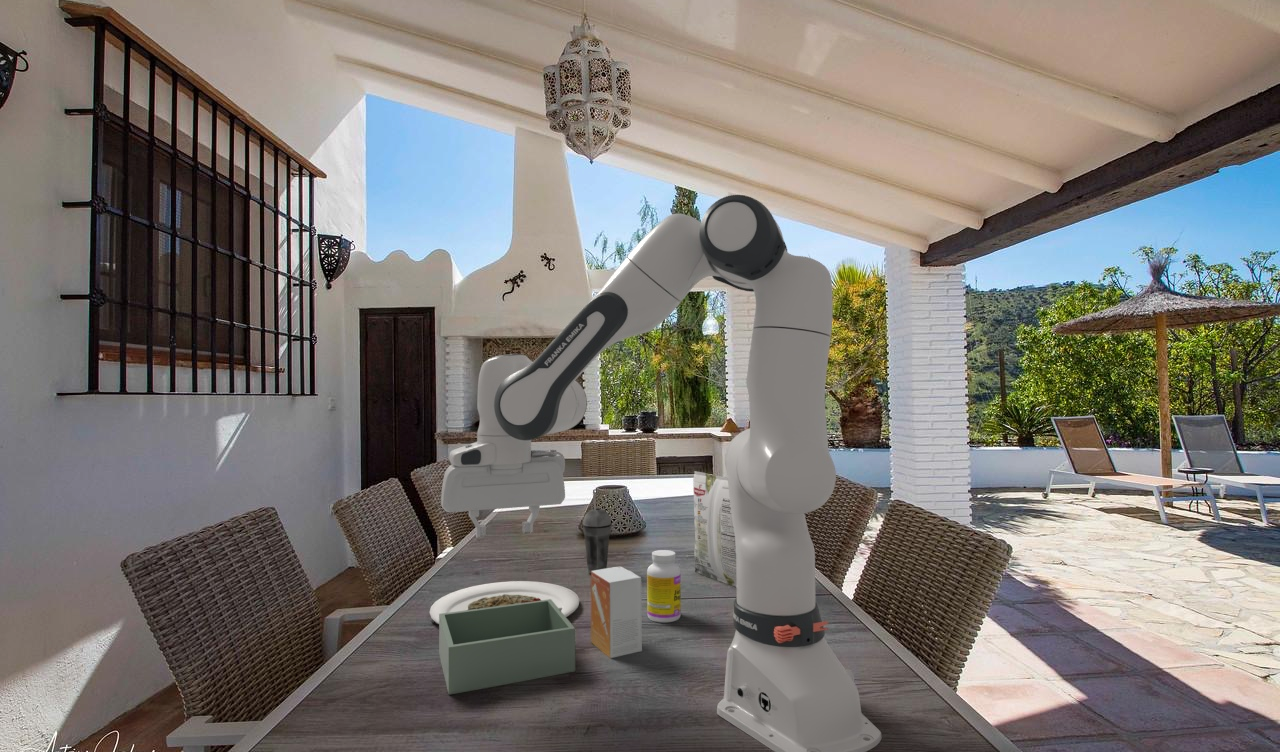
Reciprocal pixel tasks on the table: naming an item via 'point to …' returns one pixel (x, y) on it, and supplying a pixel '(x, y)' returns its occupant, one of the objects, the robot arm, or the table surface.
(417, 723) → the table surface
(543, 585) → the plated food
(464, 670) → the tote
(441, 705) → the table surface
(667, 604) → the supplement bottle
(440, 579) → the table surface
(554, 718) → the table surface
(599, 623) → the small box
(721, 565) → the frozen beans
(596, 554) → the beverage cup
